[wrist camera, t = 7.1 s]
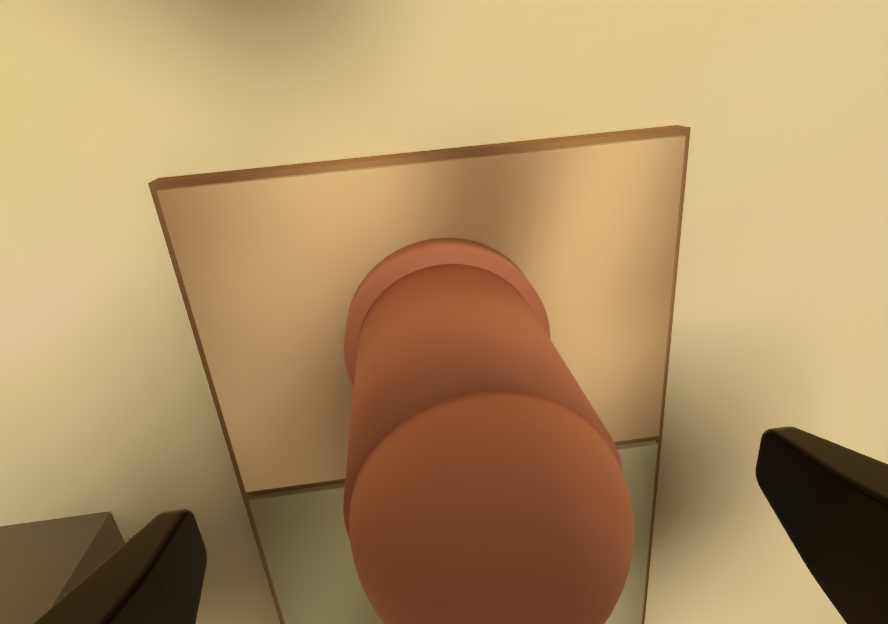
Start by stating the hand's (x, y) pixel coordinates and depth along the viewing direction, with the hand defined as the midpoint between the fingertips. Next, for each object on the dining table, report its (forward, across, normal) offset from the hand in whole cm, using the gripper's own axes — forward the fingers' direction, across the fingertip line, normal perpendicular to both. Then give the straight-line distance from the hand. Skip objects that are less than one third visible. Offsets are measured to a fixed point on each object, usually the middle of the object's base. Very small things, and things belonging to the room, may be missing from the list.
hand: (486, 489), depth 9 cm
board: (+6, 0, +8) cm, 11 cm away
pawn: (+6, 0, 0) cm, 6 cm away
